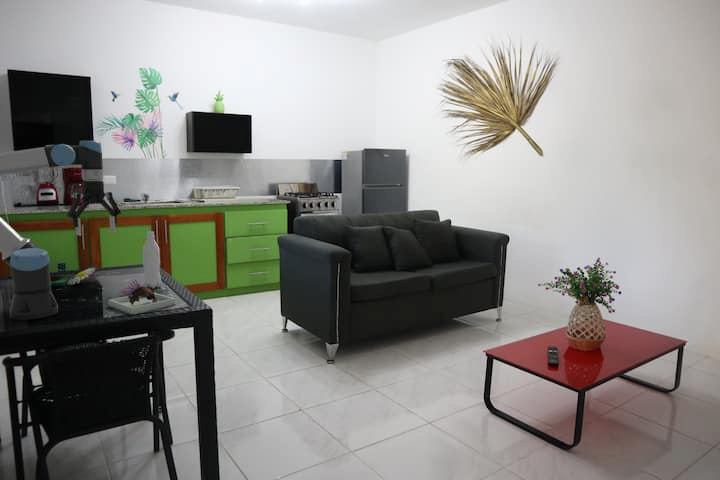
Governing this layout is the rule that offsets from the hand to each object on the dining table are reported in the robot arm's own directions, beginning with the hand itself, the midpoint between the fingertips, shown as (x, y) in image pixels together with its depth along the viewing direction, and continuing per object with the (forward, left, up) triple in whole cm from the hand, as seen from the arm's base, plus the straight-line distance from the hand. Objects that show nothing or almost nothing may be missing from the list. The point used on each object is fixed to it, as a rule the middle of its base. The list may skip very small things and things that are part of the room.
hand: (96, 233), depth 208 cm
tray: (+5, -23, -27) cm, 36 cm away
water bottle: (+24, +1, -27) cm, 36 cm away
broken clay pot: (+6, -24, -26) cm, 36 cm away
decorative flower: (-1, +34, -27) cm, 44 cm away
